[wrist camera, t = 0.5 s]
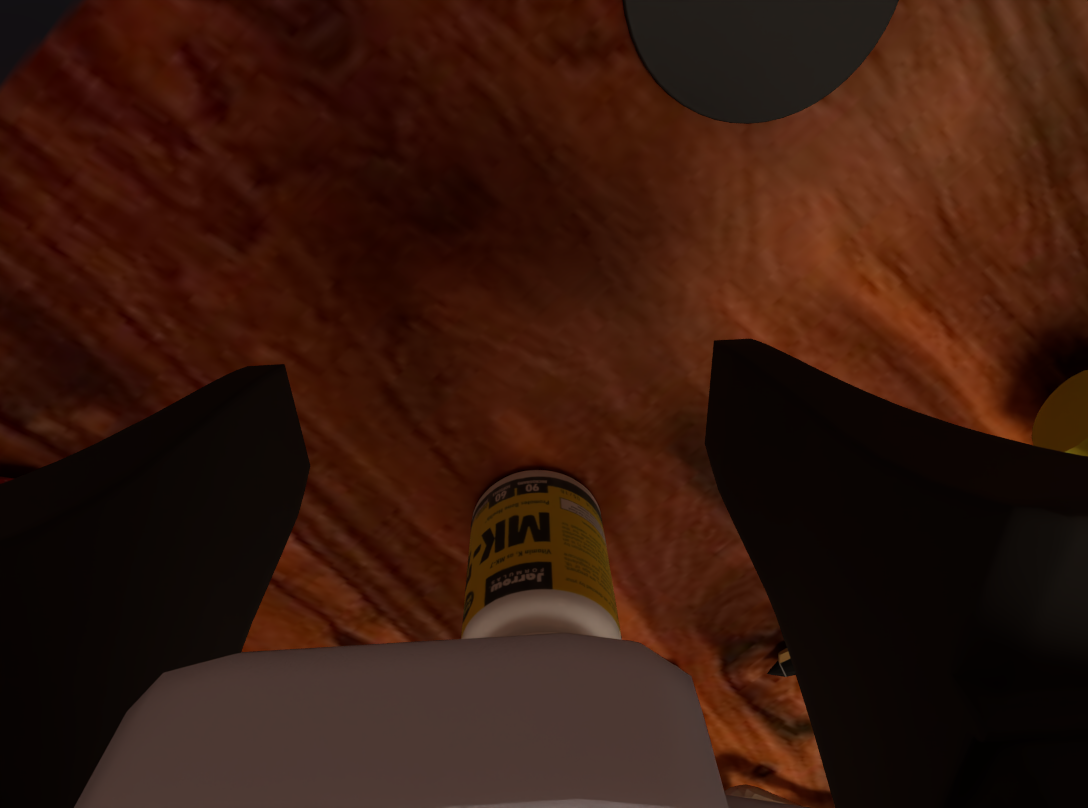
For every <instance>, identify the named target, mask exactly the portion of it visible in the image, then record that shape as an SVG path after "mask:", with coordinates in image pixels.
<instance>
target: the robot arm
mask: <svg viewBox="0 0 1088 808" xmlns="http://www.w3.org/2000/svg"><path fill="white" fill-rule="evenodd" d="M705 446H706V449H707V453H708V456H709V460H710V464H711V467H712V471H713V474H714V477H715V480H716V483H717V487H718V490H719V492H720V494H721V496H722V499H723V501H724V503H725V505H726V507H727V510H728V512H729V514H730V516H731V518H732V520H733V523H734V525H735V527H736V529H737V531H738V533H739V535H740V537H741V539H742V542H743V544H744V546H745V548H746V550H747V552H748V554H749V556H750V558H751V561H752V563H753V565H754V567H755V569H756V571H757V573H758V575H759V577H760V580H761V582H762V584H763V586H764V588H765V590H766V592H767V595H768V597H769V600H770V602H771V604H772V607H773V609H774V612H775V614H776V617H777V620H778V623H779V626H780V629H781V631H782V634H783V637H784V640H785V643H786V646H787V649H788V652H789V655H790V658H791V661H792V664H793V667H794V670H795V673H796V677H797V680H798V683H799V686H800V689H801V693H802V696H803V699H804V702H805V705H806V709H807V712H808V715H809V718H810V721H811V725H812V728H813V731H814V735H815V738H816V742H817V745H818V749H819V752H820V756H821V759H822V763H823V766H824V770H825V773H826V777H827V780H828V784H829V787H830V791H831V794H832V798H833V801H834V805H835V808H1088V456H1082V455H1076V454H1071V453H1066V452H1062V451H1057V450H1052V449H1047V448H1042V447H1038V446H1033V445H1029V444H1025V443H1021V442H1017V441H1013V440H1009V439H1005V438H1001V437H997V436H993V435H989V434H985V433H982V432H978V431H975V430H971V429H968V428H964V427H961V426H958V425H954V424H951V423H948V422H945V421H942V420H939V419H936V418H933V417H930V416H927V415H924V414H921V413H918V412H915V411H913V410H910V409H907V408H905V407H902V406H899V405H897V404H894V403H892V402H889V401H887V400H885V399H882V398H880V397H877V396H875V395H873V394H870V393H868V392H866V391H863V390H861V389H859V388H856V387H854V386H852V385H850V384H848V383H845V382H843V381H841V380H839V379H837V378H835V377H833V376H831V375H829V374H826V373H824V372H822V371H820V370H818V369H816V368H814V367H812V366H810V365H808V364H806V363H804V362H802V361H800V360H798V359H796V358H794V357H792V356H790V355H788V354H786V353H784V352H782V351H780V350H778V349H775V348H773V347H771V346H769V345H767V344H764V343H762V342H759V341H756V340H753V339H735V340H717V341H714V347H713V358H712V369H711V380H710V391H709V403H708V414H707V425H706V436H705ZM309 469H310V463H309V459H308V455H307V451H306V447H305V443H304V439H303V435H302V431H301V427H300V423H299V419H298V415H297V412H296V408H295V404H294V400H293V396H292V392H291V388H290V384H289V380H288V376H287V372H286V368H285V364H281V365H263V366H247V367H245V368H242V369H239V370H236V371H234V372H232V373H230V374H227V375H225V376H223V377H221V378H219V379H217V380H215V381H214V382H212V383H210V384H208V385H206V386H204V387H202V388H201V389H199V390H197V391H195V392H193V393H191V394H190V395H188V396H186V397H184V398H182V399H180V400H179V401H177V402H175V403H173V404H171V405H170V406H168V407H166V408H164V409H162V410H160V411H159V412H157V413H155V414H153V415H151V416H149V417H147V418H146V419H144V420H142V421H140V422H138V423H136V424H134V425H132V426H130V427H128V428H126V429H124V430H122V431H120V432H118V433H116V434H114V435H112V436H110V437H108V438H106V439H104V440H102V441H100V442H98V443H96V444H94V445H92V446H90V447H88V448H86V449H84V450H82V451H79V452H77V453H75V454H73V455H70V456H68V457H66V458H64V459H62V460H59V461H57V462H54V463H52V464H50V465H47V466H45V467H42V468H40V469H37V470H35V471H33V472H30V473H28V474H25V475H23V476H20V477H18V478H15V479H12V480H10V481H7V482H4V483H2V484H0V808H809V807H803V806H796V805H790V804H783V803H777V802H770V801H764V800H758V799H751V798H745V797H738V796H732V795H725V792H724V789H723V785H722V781H721V778H720V774H719V770H718V767H717V763H716V760H715V756H714V752H713V749H712V745H711V741H710V738H709V734H708V730H707V727H706V723H705V720H704V716H703V713H702V710H701V707H700V703H699V700H698V697H697V694H696V690H695V687H694V684H693V681H692V677H691V676H690V675H689V674H687V673H685V672H684V671H682V670H681V669H679V667H678V666H676V665H673V664H672V663H670V662H669V661H667V660H666V659H664V658H663V657H661V656H660V655H658V654H656V653H655V652H653V651H652V650H650V649H649V648H647V647H646V646H644V645H643V644H641V643H638V642H634V641H629V640H621V639H613V638H605V637H597V636H589V635H581V634H573V633H549V634H533V635H517V636H500V637H484V638H468V639H452V640H436V641H419V642H403V643H387V644H371V645H354V646H338V647H322V648H306V649H290V650H273V651H257V652H242V653H241V651H242V648H243V645H244V643H245V640H246V637H247V635H248V632H249V629H250V627H251V624H252V621H253V619H254V617H255V615H256V612H257V610H258V608H259V605H260V603H261V601H262V598H263V596H264V594H265V591H266V589H267V587H268V585H269V582H270V580H271V578H272V575H273V573H274V571H275V568H276V566H277V564H278V562H279V559H280V557H281V555H282V552H283V550H284V548H285V545H286V543H287V540H288V538H289V536H290V533H291V531H292V529H293V526H294V524H295V521H296V519H297V516H298V514H299V510H300V506H301V502H302V499H303V495H304V491H305V487H306V482H307V478H308V474H309Z"/></svg>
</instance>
